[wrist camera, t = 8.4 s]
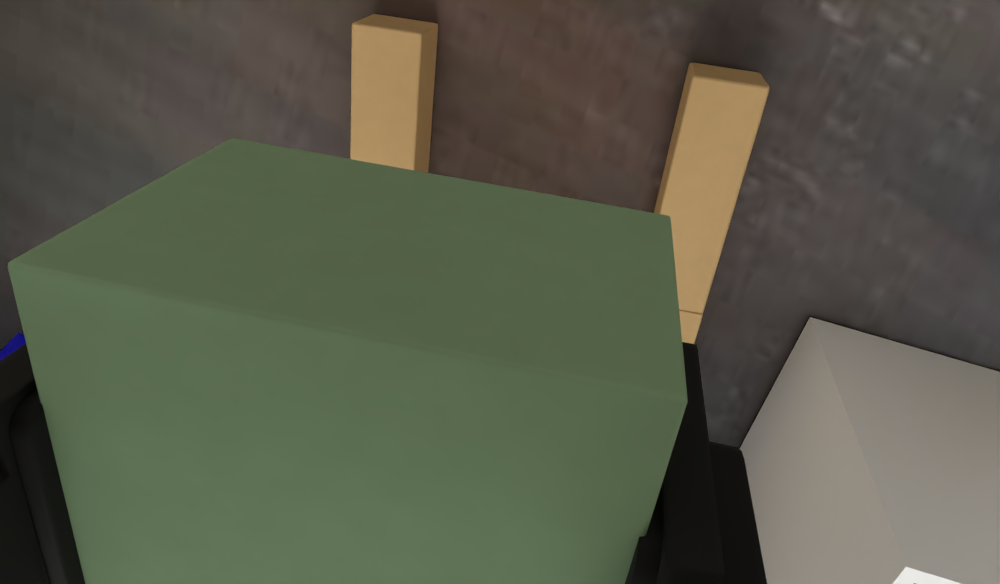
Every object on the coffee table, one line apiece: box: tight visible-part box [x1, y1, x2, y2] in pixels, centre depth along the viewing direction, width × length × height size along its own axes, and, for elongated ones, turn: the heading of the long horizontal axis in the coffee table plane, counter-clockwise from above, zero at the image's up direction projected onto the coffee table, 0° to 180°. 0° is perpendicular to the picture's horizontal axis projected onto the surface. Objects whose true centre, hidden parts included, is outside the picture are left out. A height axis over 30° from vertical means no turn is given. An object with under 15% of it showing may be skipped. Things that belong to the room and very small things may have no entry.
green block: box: [8, 138, 688, 584], centre depth 9 cm, size 6×6×4 cm
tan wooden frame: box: [351, 14, 770, 344], centre depth 24 cm, size 11×12×2 cm
